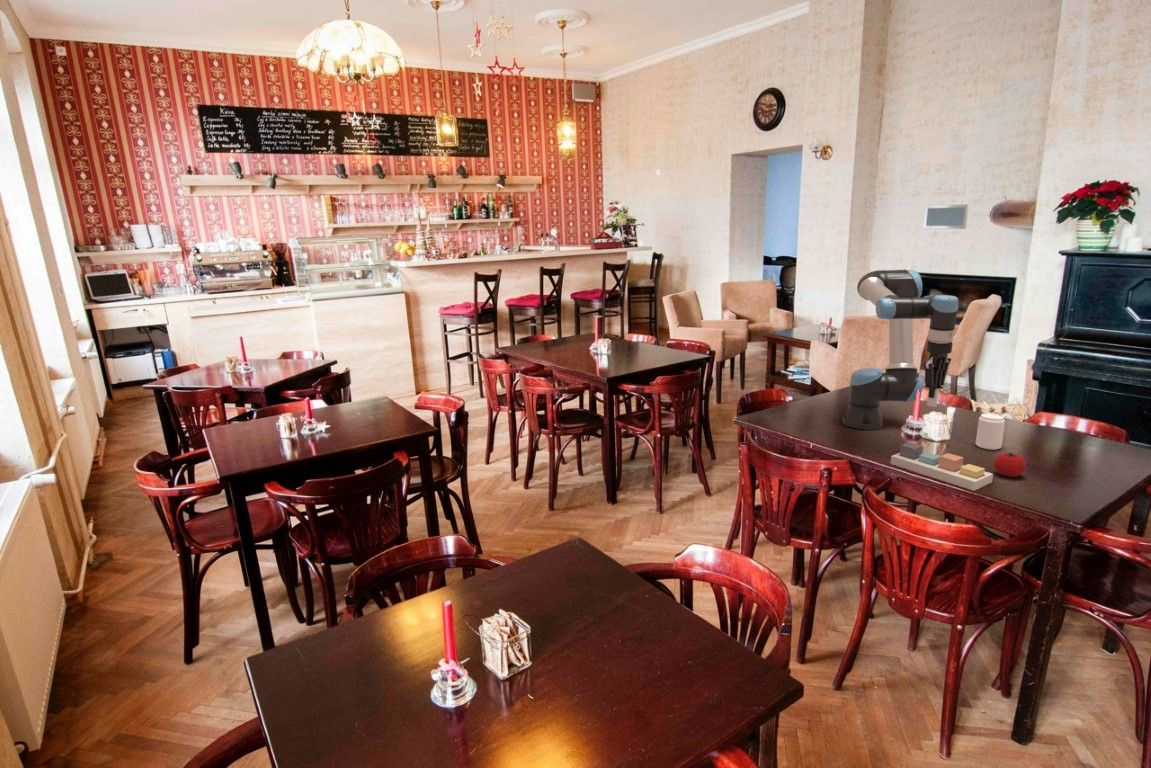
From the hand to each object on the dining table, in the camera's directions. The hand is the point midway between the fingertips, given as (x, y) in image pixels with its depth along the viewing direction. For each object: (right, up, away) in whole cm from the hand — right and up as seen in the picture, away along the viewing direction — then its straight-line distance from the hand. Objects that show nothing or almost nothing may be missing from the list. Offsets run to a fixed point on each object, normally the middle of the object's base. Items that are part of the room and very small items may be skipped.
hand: (931, 405), depth 223 cm
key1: (-9, -18, -3) cm, 20 cm away
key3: (-2, -21, -14) cm, 25 cm away
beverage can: (+27, -16, +11) cm, 33 cm away
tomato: (+17, -23, -14) cm, 32 cm away
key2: (-6, -21, -8) cm, 23 cm away
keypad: (-4, -22, -11) cm, 25 cm away
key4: (+2, -24, -19) cm, 31 cm away
